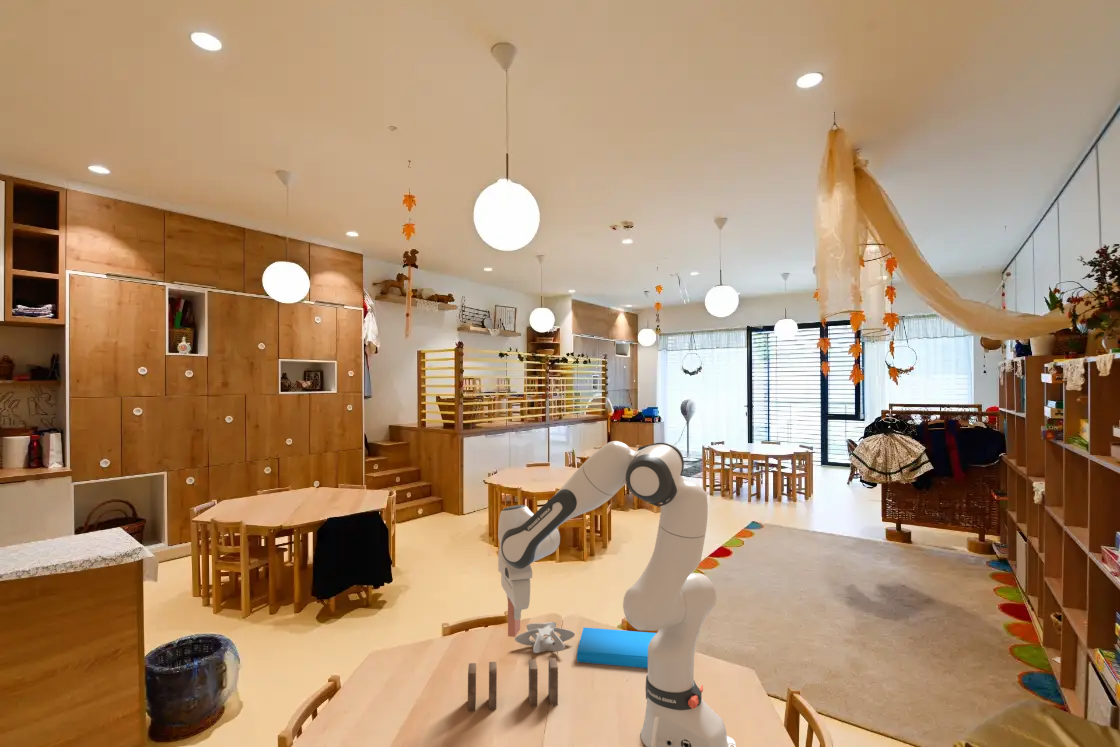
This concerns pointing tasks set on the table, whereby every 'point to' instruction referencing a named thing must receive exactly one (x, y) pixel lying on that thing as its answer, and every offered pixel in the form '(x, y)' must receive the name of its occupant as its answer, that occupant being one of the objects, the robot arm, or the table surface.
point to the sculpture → (546, 642)
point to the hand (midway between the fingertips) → (514, 613)
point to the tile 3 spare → (512, 621)
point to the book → (614, 647)
